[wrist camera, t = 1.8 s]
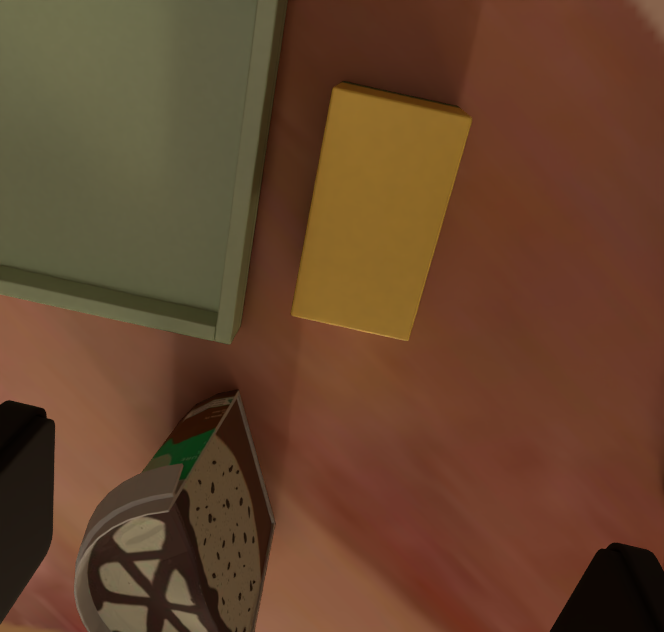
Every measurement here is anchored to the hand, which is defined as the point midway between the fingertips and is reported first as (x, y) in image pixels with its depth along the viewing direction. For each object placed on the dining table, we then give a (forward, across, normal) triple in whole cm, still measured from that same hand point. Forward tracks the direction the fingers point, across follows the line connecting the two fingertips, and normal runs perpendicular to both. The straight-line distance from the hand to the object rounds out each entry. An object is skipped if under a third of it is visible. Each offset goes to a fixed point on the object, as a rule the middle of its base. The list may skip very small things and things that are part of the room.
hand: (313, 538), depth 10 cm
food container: (+19, +5, +16) cm, 25 cm away
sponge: (+18, 0, -2) cm, 19 cm away
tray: (+19, +16, -1) cm, 24 cm away
